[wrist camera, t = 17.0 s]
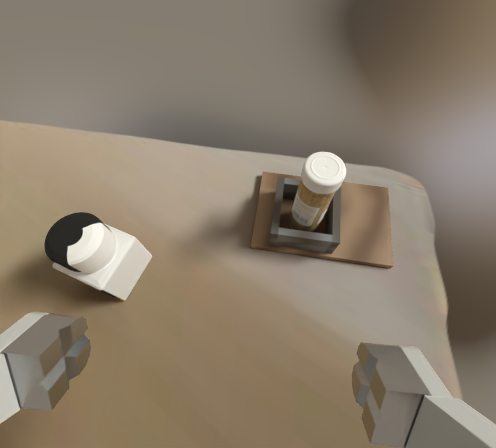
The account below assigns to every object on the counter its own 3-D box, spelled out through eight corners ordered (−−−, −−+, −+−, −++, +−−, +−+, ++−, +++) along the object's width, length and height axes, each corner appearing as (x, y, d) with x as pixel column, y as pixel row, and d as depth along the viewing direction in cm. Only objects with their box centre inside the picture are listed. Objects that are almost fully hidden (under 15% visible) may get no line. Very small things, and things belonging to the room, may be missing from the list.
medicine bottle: (82, 281, 39) (18, 251, 28) (112, 238, 42) (65, 195, 31) (125, 302, 38) (76, 279, 27) (153, 256, 40) (119, 218, 30)
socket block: (250, 247, 41) (250, 233, 36) (262, 175, 47) (264, 155, 42) (390, 268, 40) (408, 256, 35) (385, 191, 45) (400, 172, 41)
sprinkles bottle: (324, 228, 41) (356, 174, 29) (298, 241, 40) (319, 191, 28) (307, 204, 43) (331, 144, 31) (282, 216, 42) (295, 159, 30)
